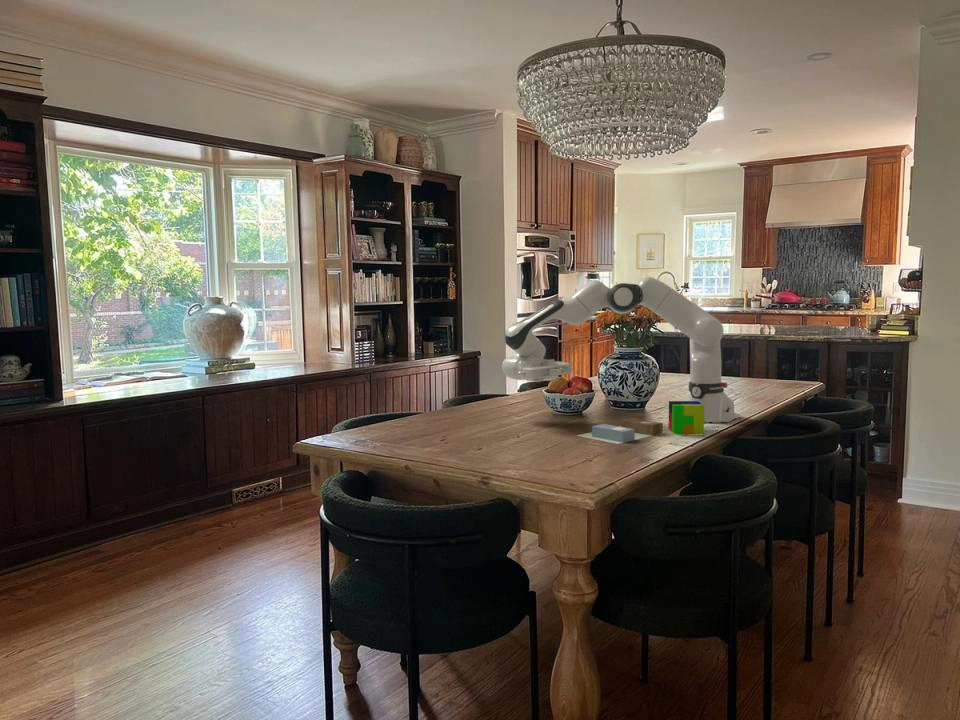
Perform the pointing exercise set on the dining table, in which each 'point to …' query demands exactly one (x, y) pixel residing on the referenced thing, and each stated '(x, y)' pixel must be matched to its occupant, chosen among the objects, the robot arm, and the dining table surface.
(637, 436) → the mat
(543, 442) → the dining table surface
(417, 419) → the dining table surface
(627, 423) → the walnut block
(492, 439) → the dining table surface
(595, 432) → the slate-blue block
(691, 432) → the puzzle toy
